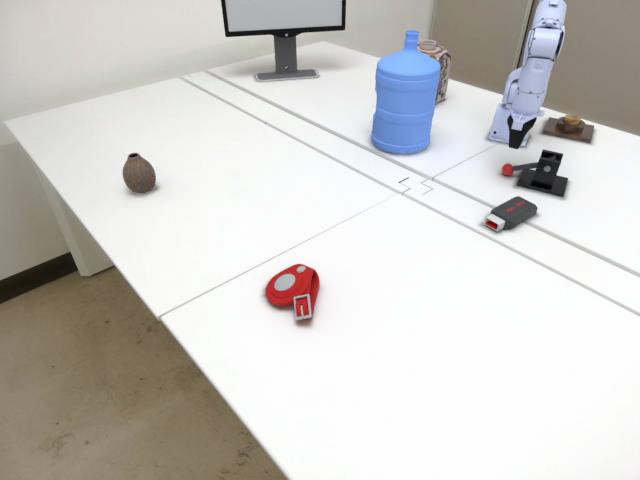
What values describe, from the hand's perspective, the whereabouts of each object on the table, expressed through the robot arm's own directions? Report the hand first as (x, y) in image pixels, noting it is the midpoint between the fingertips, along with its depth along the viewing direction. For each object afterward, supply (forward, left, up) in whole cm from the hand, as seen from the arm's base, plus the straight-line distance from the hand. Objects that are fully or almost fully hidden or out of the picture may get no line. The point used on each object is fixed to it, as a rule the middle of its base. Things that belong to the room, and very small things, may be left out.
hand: (513, 147), depth 105 cm
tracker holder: (-23, -60, -8) cm, 65 cm away
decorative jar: (-34, +35, -8) cm, 49 cm away
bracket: (+8, 0, -7) cm, 11 cm away
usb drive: (+4, -18, -8) cm, 20 cm away
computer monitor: (-84, +34, -8) cm, 91 cm away
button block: (+10, +33, -7) cm, 35 cm away
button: (+10, +33, -5) cm, 35 cm away
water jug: (-29, +4, -8) cm, 30 cm away
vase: (-72, -47, -8) cm, 86 cm away
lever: (+5, 0, -5) cm, 7 cm away
